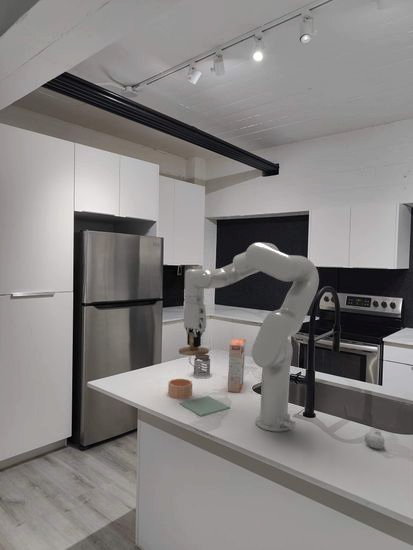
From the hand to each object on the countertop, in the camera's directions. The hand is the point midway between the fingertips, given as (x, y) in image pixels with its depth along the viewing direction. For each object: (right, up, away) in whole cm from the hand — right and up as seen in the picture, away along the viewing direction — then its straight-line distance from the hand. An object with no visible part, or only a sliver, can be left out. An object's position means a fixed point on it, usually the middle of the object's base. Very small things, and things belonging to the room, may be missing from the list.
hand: (194, 345), depth 155 cm
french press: (+2, -21, +33) cm, 40 cm away
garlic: (+58, -26, -33) cm, 72 cm away
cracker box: (+18, -22, +18) cm, 34 cm away
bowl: (-6, -22, +7) cm, 24 cm away
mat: (+4, -23, -5) cm, 24 cm away
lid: (0, -3, 0) cm, 3 cm away
